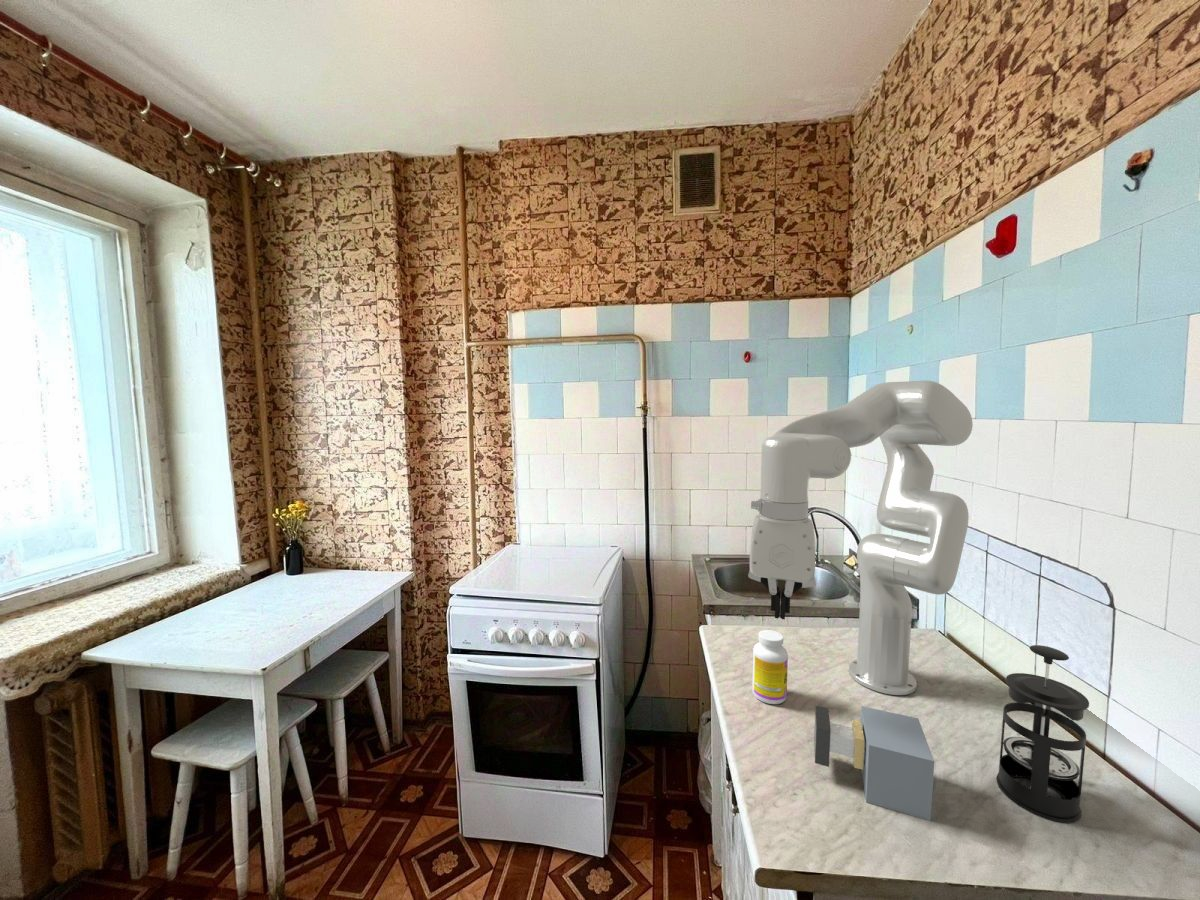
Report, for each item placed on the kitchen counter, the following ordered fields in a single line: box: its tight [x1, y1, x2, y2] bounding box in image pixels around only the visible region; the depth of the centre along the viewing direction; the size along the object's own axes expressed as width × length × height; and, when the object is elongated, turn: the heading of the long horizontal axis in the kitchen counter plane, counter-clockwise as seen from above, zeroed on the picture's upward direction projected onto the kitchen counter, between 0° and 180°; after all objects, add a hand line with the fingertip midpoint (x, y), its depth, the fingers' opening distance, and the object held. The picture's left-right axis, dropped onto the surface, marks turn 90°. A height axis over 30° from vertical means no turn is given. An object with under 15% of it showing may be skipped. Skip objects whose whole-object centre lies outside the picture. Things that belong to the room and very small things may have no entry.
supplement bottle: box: [751, 629, 789, 705], centre depth 95 cm, size 7×7×13 cm
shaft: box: [813, 705, 866, 770], centre depth 74 cm, size 6×14×6 cm, turn 67°
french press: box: [995, 644, 1090, 824], centre depth 70 cm, size 12×9×23 cm
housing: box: [860, 705, 935, 822], centre depth 72 cm, size 10×8×9 cm
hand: (780, 615), depth 80 cm, fingers closed
